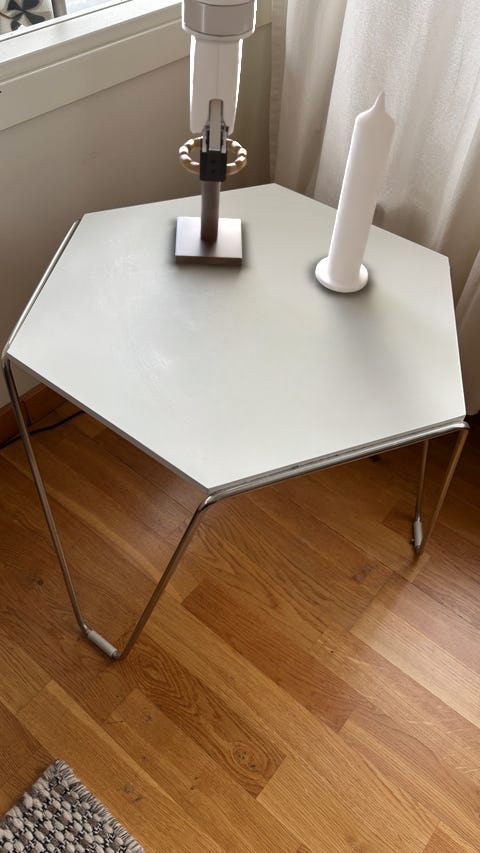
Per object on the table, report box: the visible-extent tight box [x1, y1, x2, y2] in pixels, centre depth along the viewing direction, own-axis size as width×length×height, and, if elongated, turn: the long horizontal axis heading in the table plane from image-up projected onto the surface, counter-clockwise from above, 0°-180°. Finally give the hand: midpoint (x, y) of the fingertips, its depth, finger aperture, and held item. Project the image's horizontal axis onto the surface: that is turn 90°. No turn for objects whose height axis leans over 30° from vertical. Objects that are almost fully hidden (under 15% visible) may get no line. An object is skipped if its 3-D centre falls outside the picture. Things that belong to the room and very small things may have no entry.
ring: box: [178, 136, 248, 177], centre depth 88 cm, size 8×8×1 cm
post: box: [174, 181, 243, 266], centre depth 94 cm, size 9×9×11 cm
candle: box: [315, 90, 397, 294], centre depth 86 cm, size 7×7×25 cm
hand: (212, 174), depth 86 cm, fingers closed on ring, 1 cm apart
